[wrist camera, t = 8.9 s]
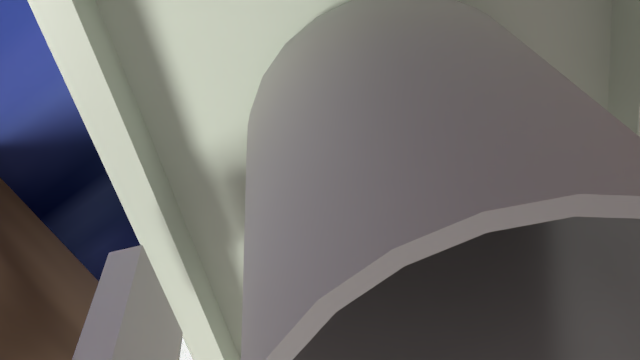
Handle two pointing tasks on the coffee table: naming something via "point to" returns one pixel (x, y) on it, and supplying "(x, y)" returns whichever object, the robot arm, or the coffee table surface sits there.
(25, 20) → the coffee table surface
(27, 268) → the walnut block
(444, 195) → the cup
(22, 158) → the coffee table surface
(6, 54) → the coffee table surface
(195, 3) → the tray
